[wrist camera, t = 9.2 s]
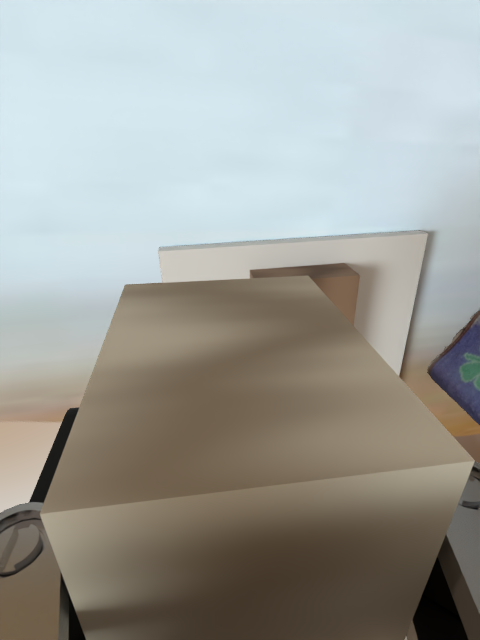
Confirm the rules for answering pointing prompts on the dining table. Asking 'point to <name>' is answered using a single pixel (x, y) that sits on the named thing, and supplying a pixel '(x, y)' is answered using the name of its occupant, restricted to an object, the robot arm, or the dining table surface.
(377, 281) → the plate
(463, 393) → the flask
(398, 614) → the birch block
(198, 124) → the dining table surface
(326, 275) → the plinth
